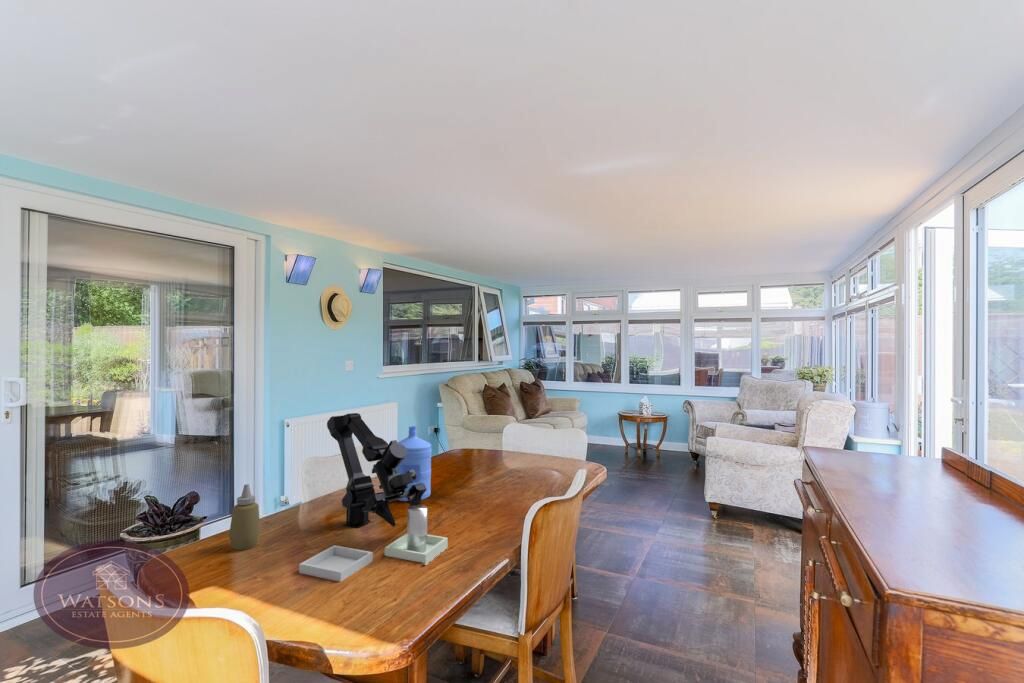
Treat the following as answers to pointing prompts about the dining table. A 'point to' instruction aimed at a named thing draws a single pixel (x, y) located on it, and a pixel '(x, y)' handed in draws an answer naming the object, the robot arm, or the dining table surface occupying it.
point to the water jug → (416, 461)
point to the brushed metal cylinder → (417, 528)
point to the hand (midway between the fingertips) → (407, 521)
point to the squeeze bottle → (245, 521)
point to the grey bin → (336, 563)
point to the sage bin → (433, 549)
